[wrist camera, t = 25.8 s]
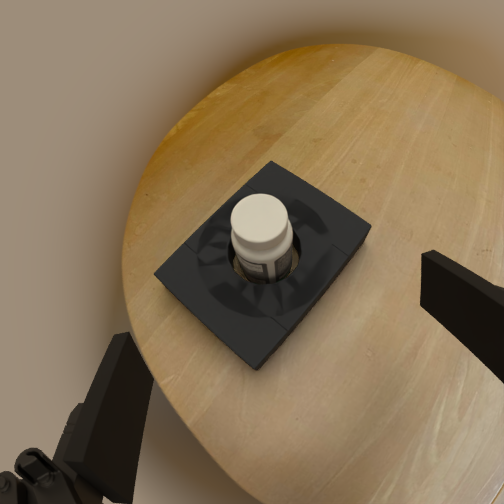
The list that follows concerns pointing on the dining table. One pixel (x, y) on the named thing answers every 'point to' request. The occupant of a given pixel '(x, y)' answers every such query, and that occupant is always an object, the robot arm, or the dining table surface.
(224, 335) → the black rectangular holder
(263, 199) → the pill bottle
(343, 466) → the dining table surface
